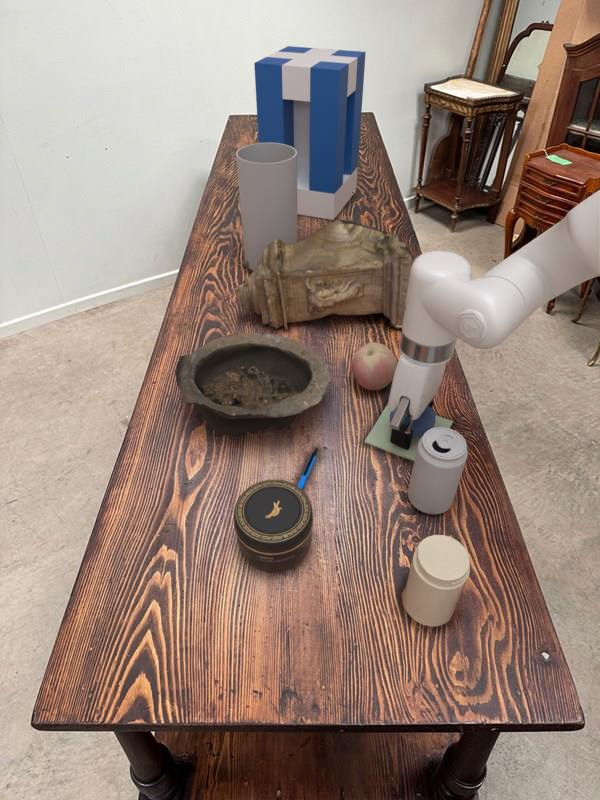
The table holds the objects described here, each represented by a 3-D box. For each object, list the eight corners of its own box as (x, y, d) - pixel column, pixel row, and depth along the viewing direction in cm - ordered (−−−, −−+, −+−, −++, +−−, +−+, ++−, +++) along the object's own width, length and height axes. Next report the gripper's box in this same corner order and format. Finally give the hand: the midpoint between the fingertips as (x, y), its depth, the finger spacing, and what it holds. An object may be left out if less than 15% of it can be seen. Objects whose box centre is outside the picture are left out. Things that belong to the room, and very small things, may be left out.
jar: (313, 513, 75) (314, 479, 70) (310, 579, 68) (311, 546, 63) (243, 510, 76) (238, 475, 71) (232, 575, 69) (226, 542, 63)
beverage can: (398, 500, 77) (409, 444, 69) (421, 474, 81) (435, 417, 72) (437, 525, 74) (454, 469, 66) (460, 496, 77) (479, 440, 69)
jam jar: (460, 592, 67) (479, 546, 60) (445, 636, 63) (463, 592, 56) (413, 570, 69) (425, 523, 62) (395, 611, 65) (406, 566, 58)
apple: (358, 365, 99) (361, 330, 94) (398, 376, 97) (404, 340, 92) (343, 392, 94) (346, 356, 88) (385, 404, 92) (391, 368, 86)
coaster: (452, 422, 88) (453, 421, 88) (431, 468, 81) (431, 466, 81) (389, 401, 92) (390, 399, 92) (364, 442, 85) (364, 440, 85)
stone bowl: (177, 463, 82) (166, 417, 76) (190, 368, 101) (182, 326, 95) (338, 451, 83) (340, 404, 77) (320, 360, 102) (321, 317, 97)
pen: (319, 451, 84) (319, 446, 83) (274, 554, 71) (274, 549, 70) (313, 450, 84) (314, 445, 84) (268, 552, 71) (268, 547, 70)
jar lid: (381, 425, 85) (381, 417, 84) (403, 401, 89) (404, 393, 88) (420, 445, 82) (421, 437, 80) (442, 419, 85) (443, 411, 84)
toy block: (356, 190, 159) (365, 51, 135) (333, 219, 144) (339, 70, 121) (290, 181, 164) (288, 46, 140) (262, 208, 150) (254, 62, 126)
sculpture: (424, 238, 93) (223, 256, 94) (418, 334, 106) (242, 348, 108) (407, 198, 106) (232, 214, 108) (404, 287, 119) (248, 300, 121)
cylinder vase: (255, 247, 133) (248, 140, 116) (303, 253, 131) (303, 145, 114) (237, 272, 124) (227, 160, 107) (289, 279, 122) (287, 166, 105)
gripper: (427, 304, 81) (411, 392, 93) (374, 365, 71) (363, 455, 83) (476, 319, 78) (452, 408, 90) (427, 385, 67) (408, 476, 80)
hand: (410, 430), depth 86 cm, fingers closed on jar lid, 6 cm apart
